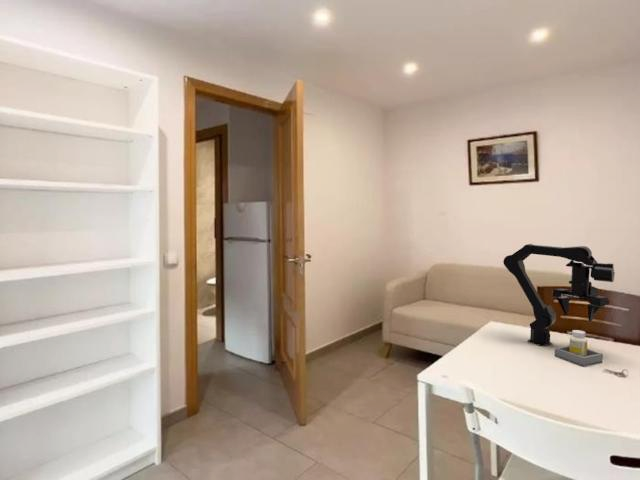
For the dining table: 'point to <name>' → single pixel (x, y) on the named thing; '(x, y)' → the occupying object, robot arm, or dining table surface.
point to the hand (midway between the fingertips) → (578, 318)
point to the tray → (582, 361)
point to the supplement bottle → (578, 343)
